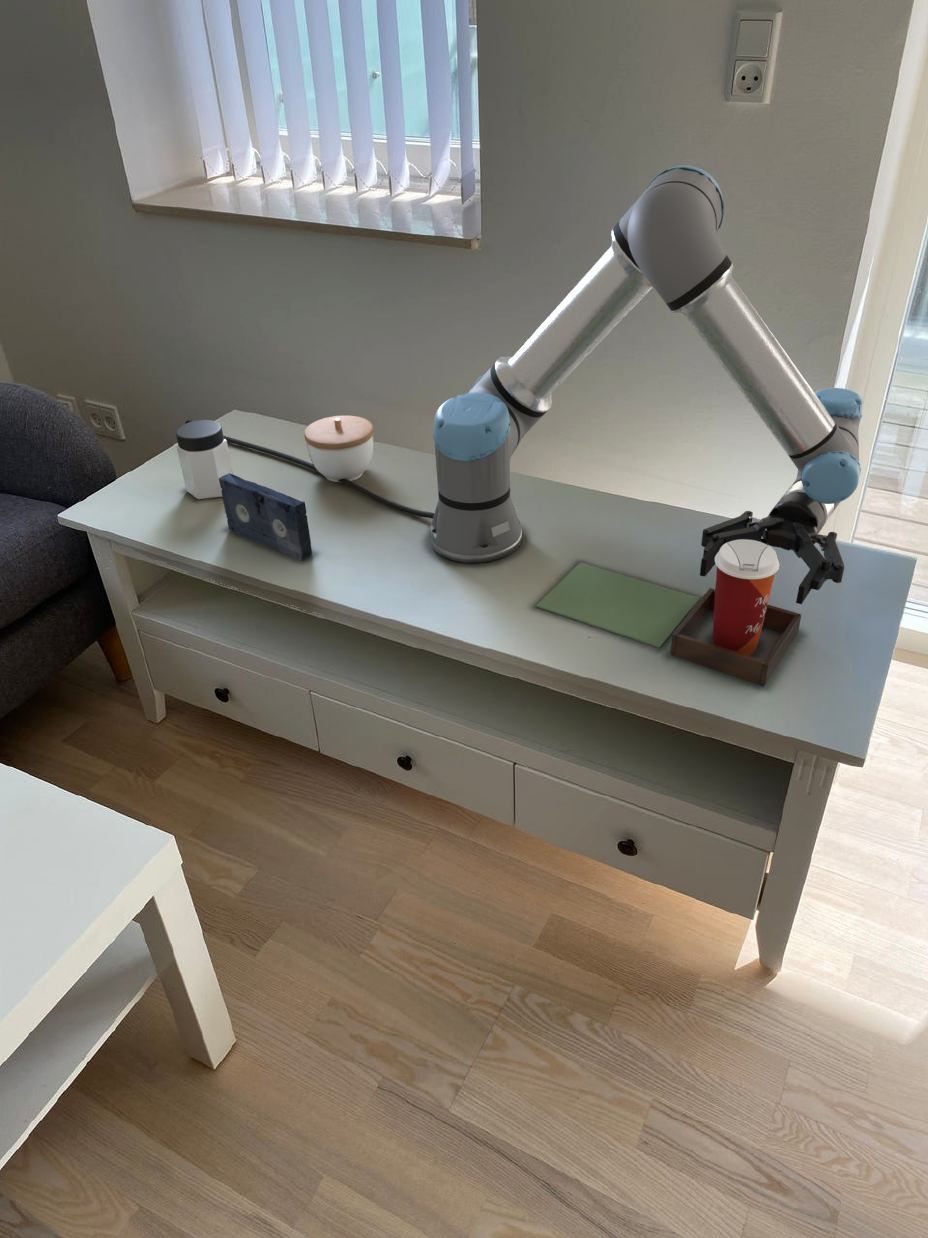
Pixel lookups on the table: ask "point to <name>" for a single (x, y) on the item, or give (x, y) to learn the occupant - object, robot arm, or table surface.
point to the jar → (203, 457)
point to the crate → (727, 658)
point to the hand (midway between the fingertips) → (750, 581)
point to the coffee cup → (742, 593)
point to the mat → (619, 604)
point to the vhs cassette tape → (266, 516)
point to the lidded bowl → (340, 446)
